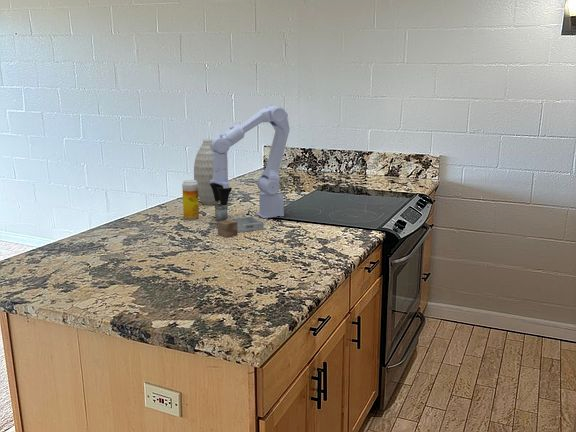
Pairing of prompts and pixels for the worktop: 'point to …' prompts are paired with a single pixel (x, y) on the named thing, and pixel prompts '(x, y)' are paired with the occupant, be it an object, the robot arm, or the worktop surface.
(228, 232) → the walnut block
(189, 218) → the beer can
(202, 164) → the vase
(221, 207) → the grooved metal cylinder
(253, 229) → the frame
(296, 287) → the worktop surface
